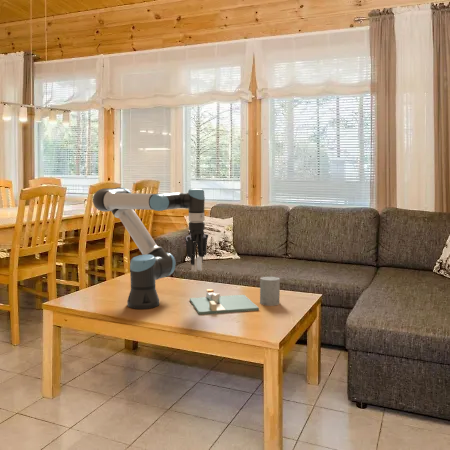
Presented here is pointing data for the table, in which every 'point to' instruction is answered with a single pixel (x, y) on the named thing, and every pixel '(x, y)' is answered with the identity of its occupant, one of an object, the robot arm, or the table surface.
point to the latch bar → (213, 296)
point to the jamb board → (223, 304)
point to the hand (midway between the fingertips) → (196, 270)
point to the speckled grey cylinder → (269, 290)
